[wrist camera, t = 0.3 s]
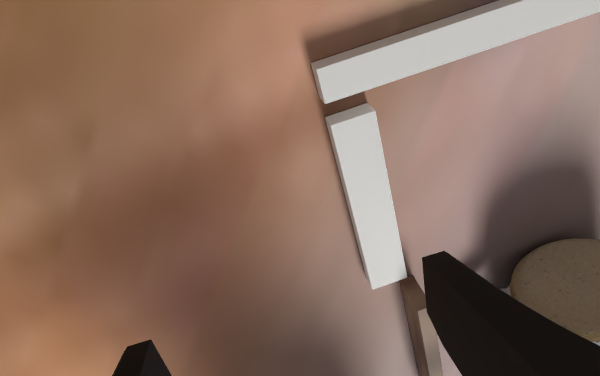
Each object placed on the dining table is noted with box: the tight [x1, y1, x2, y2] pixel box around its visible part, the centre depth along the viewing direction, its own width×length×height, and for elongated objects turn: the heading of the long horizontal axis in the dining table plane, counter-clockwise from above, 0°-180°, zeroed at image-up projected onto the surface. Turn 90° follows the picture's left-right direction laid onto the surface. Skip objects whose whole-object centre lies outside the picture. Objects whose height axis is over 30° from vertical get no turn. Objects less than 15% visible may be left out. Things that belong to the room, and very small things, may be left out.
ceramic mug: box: [501, 238, 600, 346], centre depth 26 cm, size 11×8×8 cm
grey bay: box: [311, 0, 600, 290], centre depth 22 cm, size 12×19×1 cm, turn 105°
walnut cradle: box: [400, 275, 443, 376], centre depth 28 cm, size 10×15×2 cm, turn 105°
